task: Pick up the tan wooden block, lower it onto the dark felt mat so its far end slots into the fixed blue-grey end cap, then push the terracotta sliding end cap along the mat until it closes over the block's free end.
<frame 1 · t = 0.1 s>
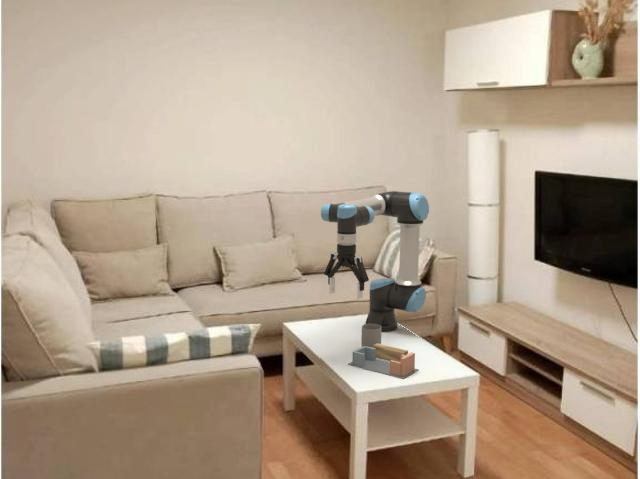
hand: (345, 295, 297), 28 cm above the table, fingers open, 13 cm apart
endcap: (402, 362, 290), point 4 cm above the table, slide at 0.0 cm
tan wooden block: (389, 359, 306), on the table
seat: (382, 367, 296), on the table
cup: (371, 349, 318), on the table
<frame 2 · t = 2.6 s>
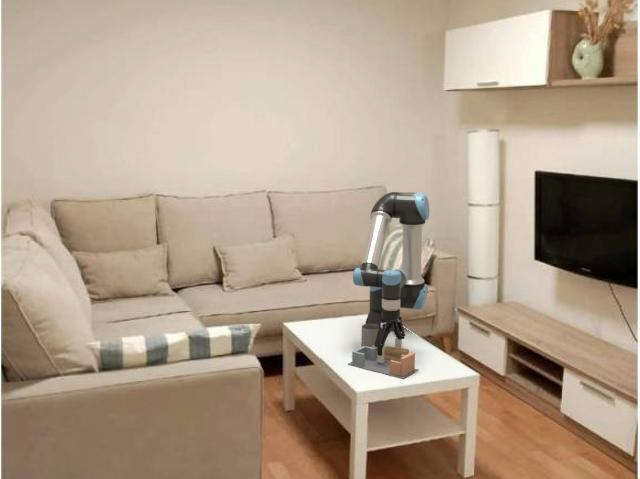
hand: (389, 358, 305), 0 cm above the table, fingers open, 13 cm apart
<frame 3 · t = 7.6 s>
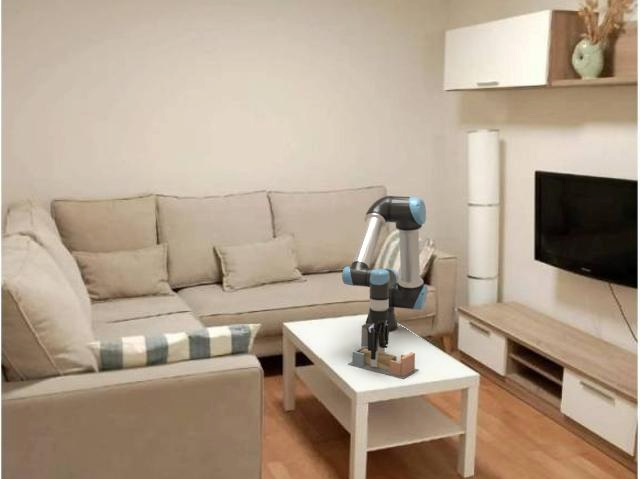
hand: (377, 364, 297), 1 cm above the table, fingers closed on tan wooden block, 4 cm apart
tan wooden block: (377, 365, 297), resting on seat, touching gripper
everything else where it was.
when the fingers open (1 cm above the table, at t = 7.6 s): tan wooden block stays where it is, resting on seat.
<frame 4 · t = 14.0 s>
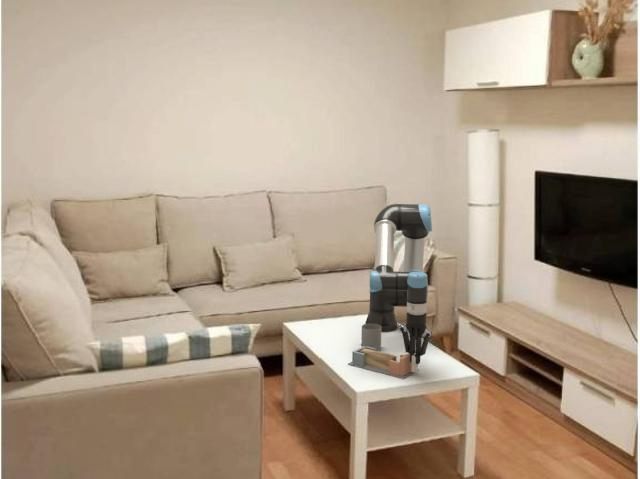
hand: (414, 371, 287), 2 cm above the table, fingers closed
endcap: (401, 362, 290), point 4 cm above the table, slide at 0.4 cm, touching gripper
tan wooden block: (377, 365, 297), resting on seat
everything else where it was.
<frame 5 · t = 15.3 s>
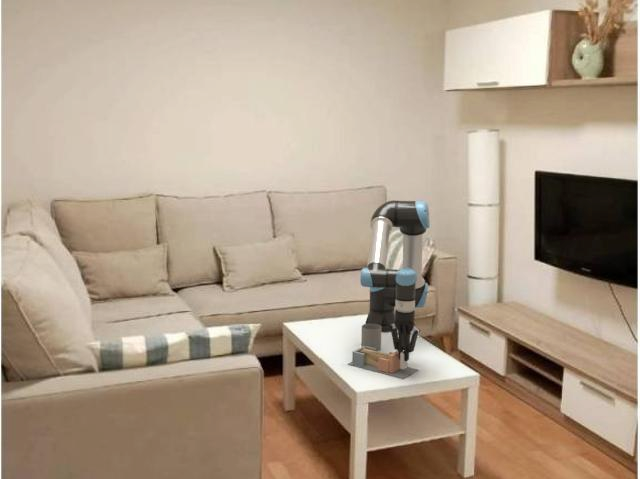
hand: (403, 367, 290), 2 cm above the table, fingers closed
endcap: (391, 360, 293), point 4 cm above the table, slide at 5.3 cm, touching gripper
everything else where it was.
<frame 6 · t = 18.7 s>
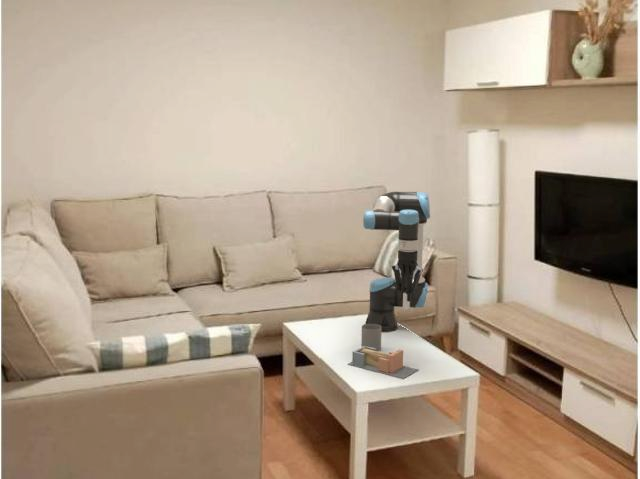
hand: (406, 308, 291), 24 cm above the table, fingers closed
endcap: (391, 360, 293), point 4 cm above the table, slide at 5.3 cm
everything else where it was.
at the end: endcap slide at 5.3 cm; tan wooden block 0.1 cm from the target spot on the seat, point 0.3 cm above the seat's base; tan wooden block tilted 0° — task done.
